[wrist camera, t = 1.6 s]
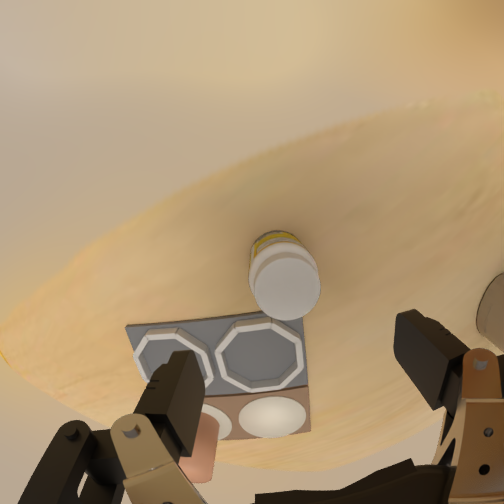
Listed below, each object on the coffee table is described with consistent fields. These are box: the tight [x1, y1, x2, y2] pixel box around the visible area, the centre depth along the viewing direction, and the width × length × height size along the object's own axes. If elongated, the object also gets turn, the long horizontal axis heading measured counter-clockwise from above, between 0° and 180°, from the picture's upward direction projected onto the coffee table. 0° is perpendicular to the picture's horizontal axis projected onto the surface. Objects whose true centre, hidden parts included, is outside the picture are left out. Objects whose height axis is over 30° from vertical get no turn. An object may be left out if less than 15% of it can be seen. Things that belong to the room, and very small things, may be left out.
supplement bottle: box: [248, 231, 321, 320], centre depth 20 cm, size 5×5×8 cm
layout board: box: [125, 311, 311, 483], centre depth 23 cm, size 18×19×9 cm
